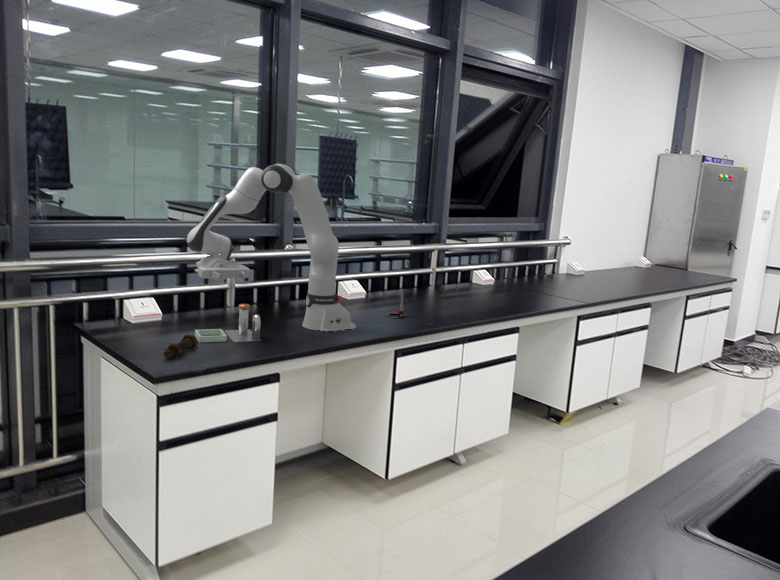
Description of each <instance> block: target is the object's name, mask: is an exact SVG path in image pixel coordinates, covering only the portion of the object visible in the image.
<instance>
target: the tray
mask: <svg viewBox="0 0 780 580" xmlns="http://www.w3.org/2000/svg"><path fill="white" fill-rule="evenodd" d="M194 336H195V337H196V339H197V341H198V344H199V343H217V342H218V343H219V342H227V341H228V340H227V339H228V338H227V337H228V334H227V333H226V332H225V331H224V330H223V329H222V328H216V329H215V328H211V329H194Z"/></svg>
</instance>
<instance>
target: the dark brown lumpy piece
mask: <svg viewBox="0 0 780 580" xmlns="http://www.w3.org/2000/svg"><path fill="white" fill-rule="evenodd" d="M198 344H199V341H198V340H197V338H196V337H195V334H194V335H193V334H185V335H183V337H182V339H181V340H180V341H179V342H178V343H174V342H173V343H169V345H168V347H167V349H165V350H164V351H163V352H162V353H163V357H164V358H166V360H167V359H168V360H170V359H172V358H180V356H181V354H182V353H183V352H185V351H187V350H189V349H190V351H193V349H194V350H195V349H196V347H197V346H198Z"/></svg>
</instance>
